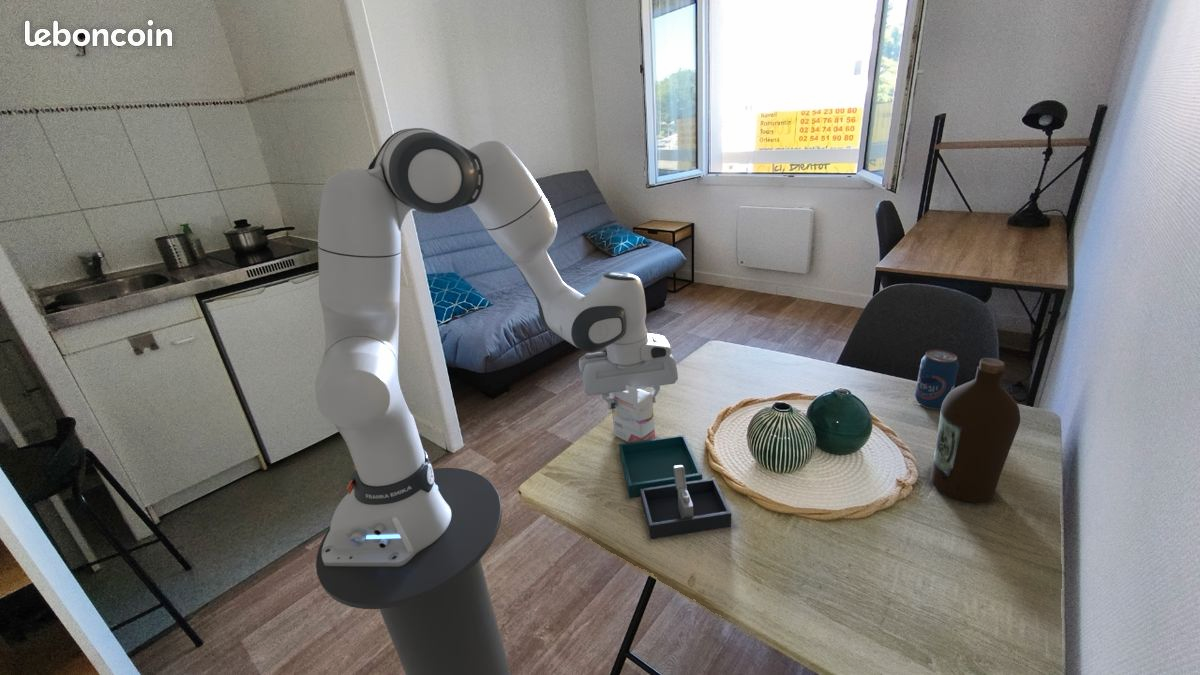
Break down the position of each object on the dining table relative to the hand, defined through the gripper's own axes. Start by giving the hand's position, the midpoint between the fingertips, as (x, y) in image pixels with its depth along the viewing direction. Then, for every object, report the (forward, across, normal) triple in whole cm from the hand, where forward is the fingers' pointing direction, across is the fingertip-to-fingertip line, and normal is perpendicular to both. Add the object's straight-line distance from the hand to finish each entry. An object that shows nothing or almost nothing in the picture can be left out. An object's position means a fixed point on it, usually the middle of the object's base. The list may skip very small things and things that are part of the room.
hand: (632, 404), depth 109 cm
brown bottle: (+9, +55, -28) cm, 62 cm away
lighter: (+8, +5, -25) cm, 27 cm away
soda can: (+9, +68, -3) cm, 68 cm away
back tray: (+9, +3, -12) cm, 15 cm away
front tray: (+9, +5, -25) cm, 27 cm away
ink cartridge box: (+9, 0, 0) cm, 9 cm away
